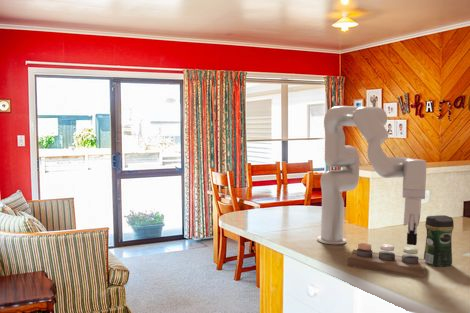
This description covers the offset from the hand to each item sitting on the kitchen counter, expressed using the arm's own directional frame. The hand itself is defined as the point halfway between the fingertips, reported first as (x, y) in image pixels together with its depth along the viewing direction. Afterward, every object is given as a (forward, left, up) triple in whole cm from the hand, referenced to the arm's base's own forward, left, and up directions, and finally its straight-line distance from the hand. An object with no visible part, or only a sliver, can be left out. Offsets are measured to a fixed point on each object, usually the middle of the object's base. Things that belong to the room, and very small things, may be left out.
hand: (411, 244), depth 159 cm
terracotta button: (0, -16, -4) cm, 17 cm away
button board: (0, -8, -10) cm, 13 cm away
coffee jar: (-13, +9, -10) cm, 19 cm away
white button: (0, -8, -3) cm, 9 cm away
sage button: (0, 0, -3) cm, 3 cm away
